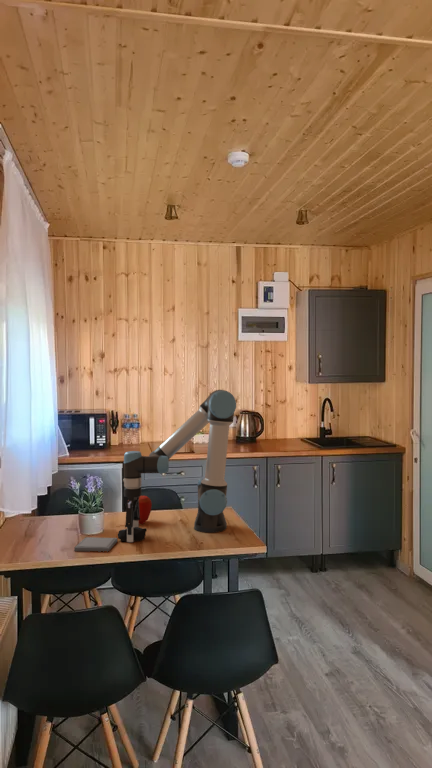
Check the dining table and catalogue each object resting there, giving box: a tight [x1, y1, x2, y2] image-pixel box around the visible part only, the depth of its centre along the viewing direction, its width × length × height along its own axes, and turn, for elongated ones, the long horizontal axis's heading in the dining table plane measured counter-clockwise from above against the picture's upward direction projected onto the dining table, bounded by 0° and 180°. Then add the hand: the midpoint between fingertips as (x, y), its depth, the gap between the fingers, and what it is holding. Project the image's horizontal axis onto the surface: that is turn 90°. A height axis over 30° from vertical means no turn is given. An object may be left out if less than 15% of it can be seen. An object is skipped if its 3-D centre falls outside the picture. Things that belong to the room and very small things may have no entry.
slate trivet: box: [74, 536, 118, 553], centre depth 234 cm, size 14×14×2 cm
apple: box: [138, 495, 153, 525], centre depth 269 cm, size 12×12×14 cm
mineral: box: [117, 527, 147, 543], centre depth 242 cm, size 10×9×6 cm
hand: (132, 538), depth 244 cm, fingers open, 9 cm apart
